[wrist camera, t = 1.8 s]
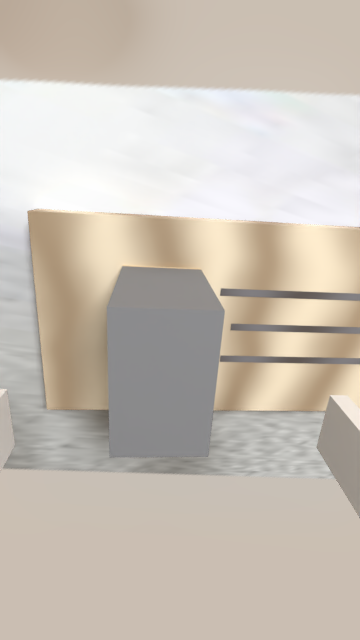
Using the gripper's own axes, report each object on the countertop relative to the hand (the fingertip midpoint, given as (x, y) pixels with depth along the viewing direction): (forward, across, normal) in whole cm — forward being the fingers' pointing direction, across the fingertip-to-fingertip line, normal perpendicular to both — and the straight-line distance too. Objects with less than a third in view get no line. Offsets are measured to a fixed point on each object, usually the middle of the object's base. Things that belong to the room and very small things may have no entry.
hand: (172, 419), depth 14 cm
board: (+12, +5, 0) cm, 13 cm away
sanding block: (+10, 0, 0) cm, 10 cm away
